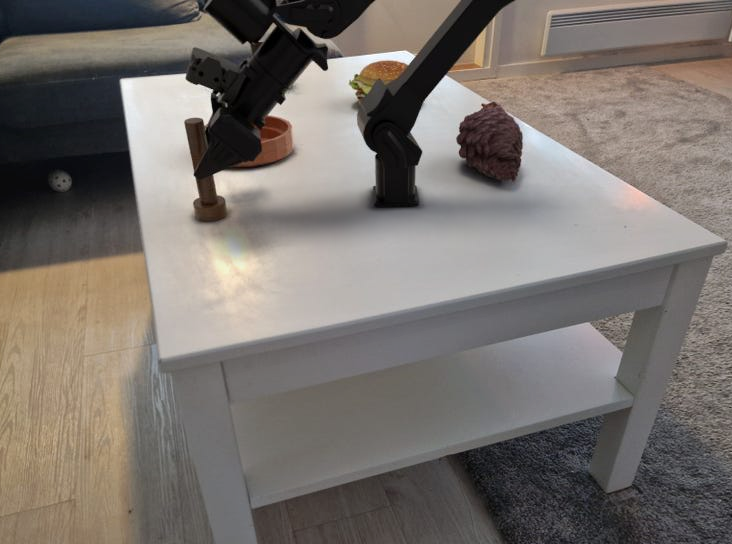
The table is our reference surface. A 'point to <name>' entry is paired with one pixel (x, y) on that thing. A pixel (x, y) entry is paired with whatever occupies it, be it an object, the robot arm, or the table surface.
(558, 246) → the table surface
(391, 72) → the food
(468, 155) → the pine cone
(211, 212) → the brown wooden peg
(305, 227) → the table surface
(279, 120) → the bowl
